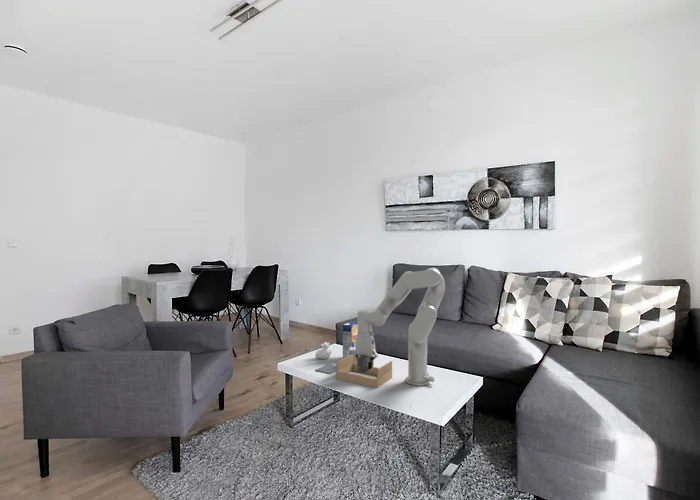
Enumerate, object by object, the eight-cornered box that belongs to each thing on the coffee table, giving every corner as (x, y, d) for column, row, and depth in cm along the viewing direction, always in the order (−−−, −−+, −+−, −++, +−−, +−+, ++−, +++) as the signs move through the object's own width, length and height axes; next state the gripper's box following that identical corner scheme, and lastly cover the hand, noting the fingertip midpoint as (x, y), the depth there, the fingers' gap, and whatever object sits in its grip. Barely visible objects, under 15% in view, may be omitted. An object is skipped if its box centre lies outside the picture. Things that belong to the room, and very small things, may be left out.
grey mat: (341, 368, 227) (341, 366, 227) (330, 374, 217) (330, 372, 217) (327, 365, 232) (327, 364, 232) (315, 370, 222) (315, 369, 222)
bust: (316, 363, 242) (322, 351, 236) (311, 353, 246) (317, 342, 241) (332, 360, 249) (339, 348, 244) (326, 350, 254) (333, 338, 248)
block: (373, 367, 213) (373, 354, 213) (365, 372, 205) (365, 359, 205) (365, 366, 216) (365, 353, 215) (357, 371, 208) (357, 358, 208)
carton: (392, 377, 211) (392, 361, 211) (378, 387, 197) (378, 369, 197) (352, 369, 224) (352, 354, 224) (336, 378, 210) (336, 361, 210)
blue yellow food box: (342, 360, 241) (342, 324, 240) (353, 356, 250) (353, 321, 249) (351, 362, 237) (351, 326, 236) (362, 358, 246) (362, 323, 245)
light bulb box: (368, 365, 233) (368, 347, 232) (367, 369, 226) (367, 350, 226) (350, 364, 234) (350, 346, 233) (348, 368, 227) (348, 349, 227)
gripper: (382, 334, 209) (383, 368, 209) (354, 330, 218) (355, 363, 218) (376, 337, 202) (376, 372, 203) (347, 333, 211) (348, 367, 212)
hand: (365, 367), depth 210 cm, fingers closed on block, 5 cm apart
